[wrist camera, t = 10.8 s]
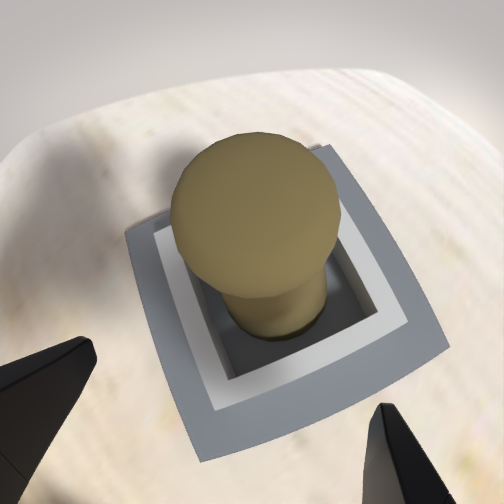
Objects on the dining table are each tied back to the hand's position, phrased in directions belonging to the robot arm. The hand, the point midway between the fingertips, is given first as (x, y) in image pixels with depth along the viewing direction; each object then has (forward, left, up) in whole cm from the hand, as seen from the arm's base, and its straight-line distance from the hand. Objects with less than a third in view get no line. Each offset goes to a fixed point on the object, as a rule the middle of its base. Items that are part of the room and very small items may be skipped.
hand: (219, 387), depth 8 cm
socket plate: (+3, +4, -10) cm, 11 cm away
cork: (+3, +4, -9) cm, 11 cm away
